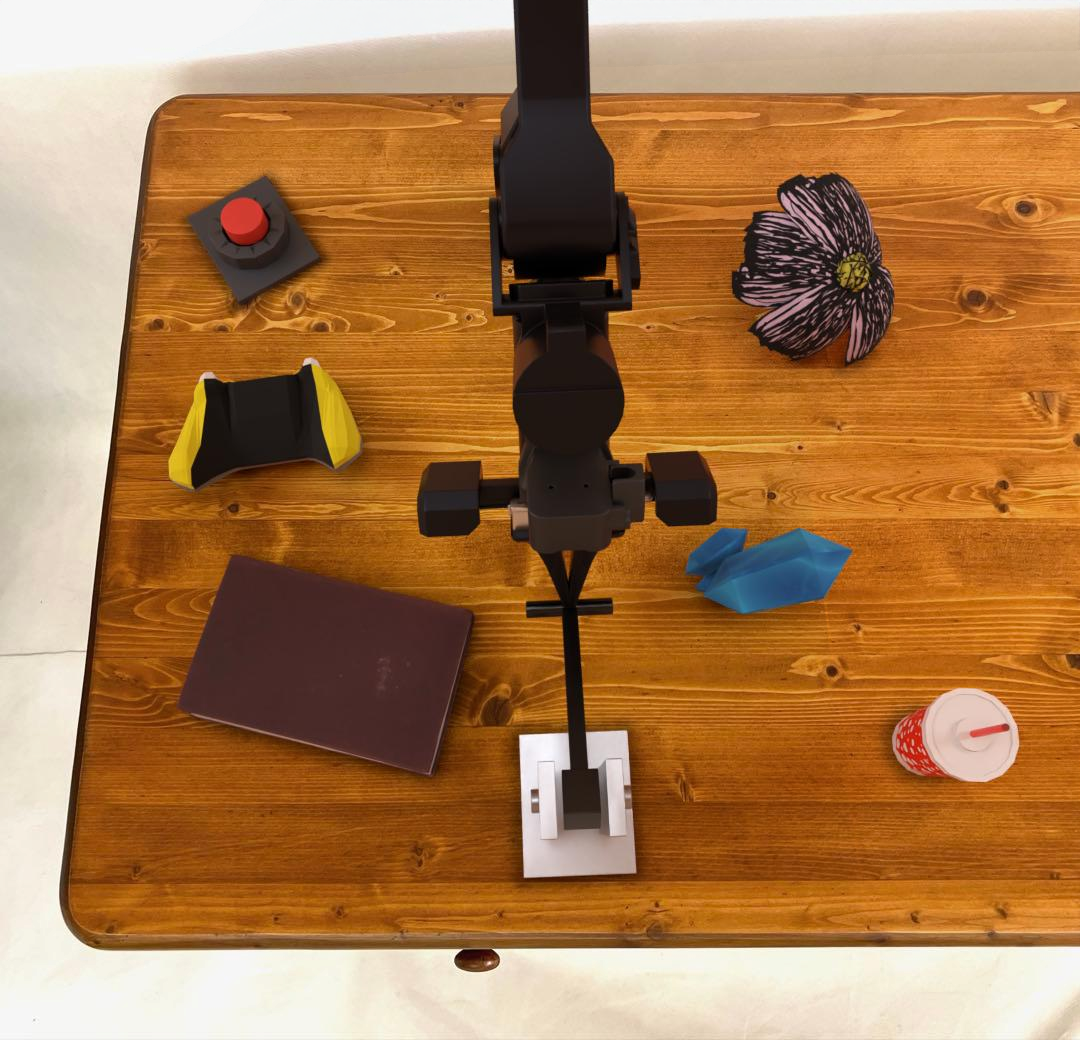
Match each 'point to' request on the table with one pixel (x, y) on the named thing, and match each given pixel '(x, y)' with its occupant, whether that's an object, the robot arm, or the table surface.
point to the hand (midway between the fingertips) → (569, 603)
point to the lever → (575, 712)
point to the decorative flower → (816, 271)
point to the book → (329, 664)
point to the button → (244, 221)
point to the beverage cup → (958, 737)
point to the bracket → (543, 808)
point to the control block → (256, 244)
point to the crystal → (766, 569)
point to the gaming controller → (264, 426)
